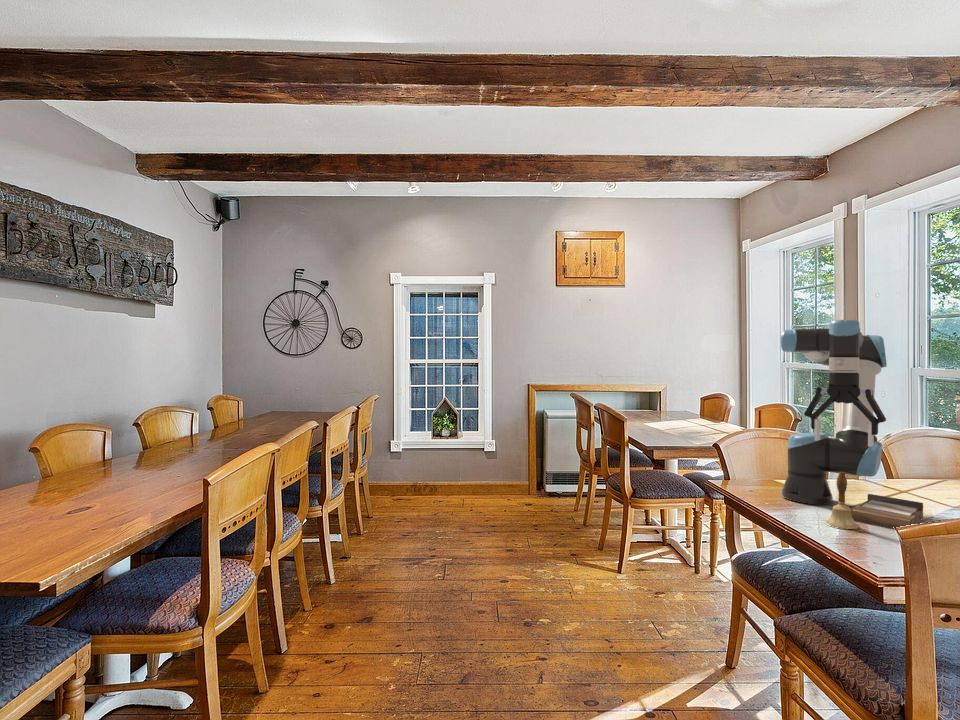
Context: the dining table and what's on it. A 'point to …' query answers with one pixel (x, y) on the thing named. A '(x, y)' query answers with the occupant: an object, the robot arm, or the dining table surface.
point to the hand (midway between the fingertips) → (843, 443)
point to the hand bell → (842, 508)
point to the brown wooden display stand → (888, 511)
